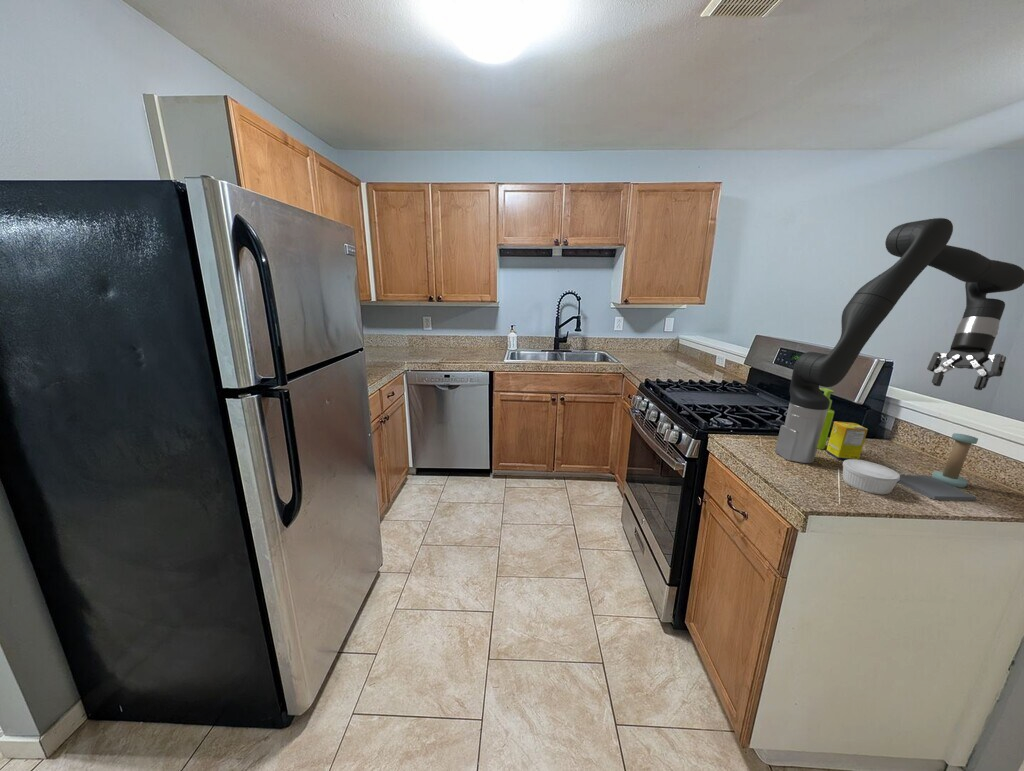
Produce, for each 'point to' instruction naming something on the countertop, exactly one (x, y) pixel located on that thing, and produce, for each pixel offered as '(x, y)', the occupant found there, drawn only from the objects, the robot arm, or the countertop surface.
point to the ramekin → (869, 476)
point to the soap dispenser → (826, 420)
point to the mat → (934, 488)
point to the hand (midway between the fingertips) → (956, 387)
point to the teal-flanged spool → (956, 461)
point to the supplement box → (846, 440)
